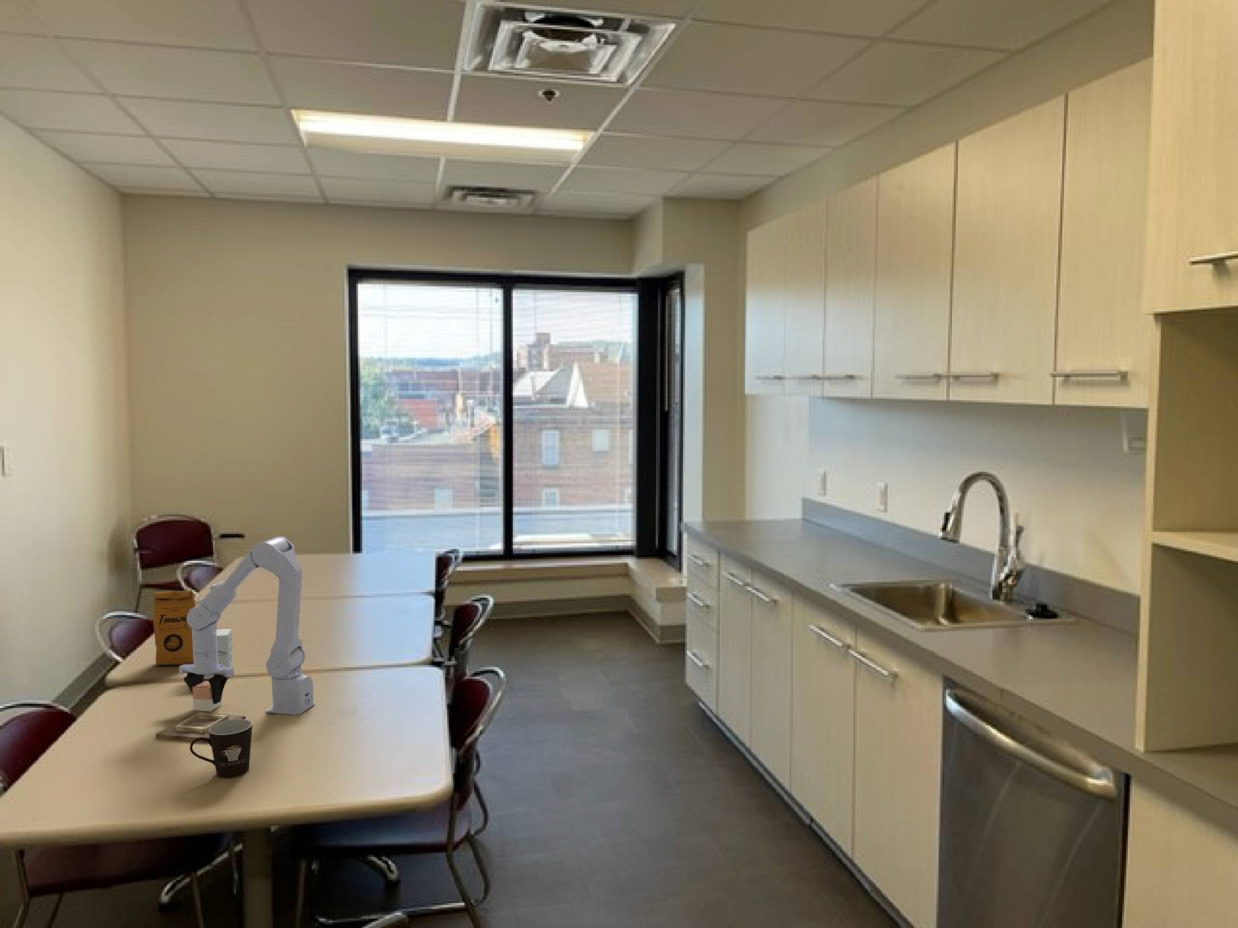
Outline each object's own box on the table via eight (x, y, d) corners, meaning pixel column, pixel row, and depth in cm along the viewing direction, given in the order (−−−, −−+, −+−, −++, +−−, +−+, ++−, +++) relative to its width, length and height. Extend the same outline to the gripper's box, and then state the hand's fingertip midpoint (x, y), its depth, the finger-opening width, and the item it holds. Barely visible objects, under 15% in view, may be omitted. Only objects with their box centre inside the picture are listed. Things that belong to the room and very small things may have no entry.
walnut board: (245, 719, 216) (245, 712, 216) (208, 742, 203) (207, 734, 202) (195, 715, 219) (195, 708, 219) (155, 737, 205) (155, 729, 205)
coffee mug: (260, 762, 192) (258, 718, 191) (245, 780, 183) (243, 734, 182) (207, 763, 191) (204, 719, 190) (189, 781, 183) (186, 735, 182)
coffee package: (195, 666, 258) (191, 594, 256) (150, 668, 256) (146, 595, 254) (206, 656, 268) (203, 586, 266) (164, 658, 266) (160, 587, 264)
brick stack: (222, 704, 227) (221, 682, 226) (210, 711, 222) (209, 688, 222) (206, 703, 228) (205, 680, 227) (193, 709, 223) (192, 687, 223)
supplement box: (201, 680, 246) (199, 636, 245) (206, 672, 253) (204, 629, 252) (229, 677, 248) (227, 634, 247) (234, 669, 255) (232, 627, 254)
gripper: (240, 647, 226) (242, 698, 227) (191, 644, 229) (193, 694, 230) (222, 655, 219) (225, 707, 221) (172, 652, 222) (175, 704, 223)
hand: (207, 701), depth 225 cm, fingers closed on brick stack, 5 cm apart
